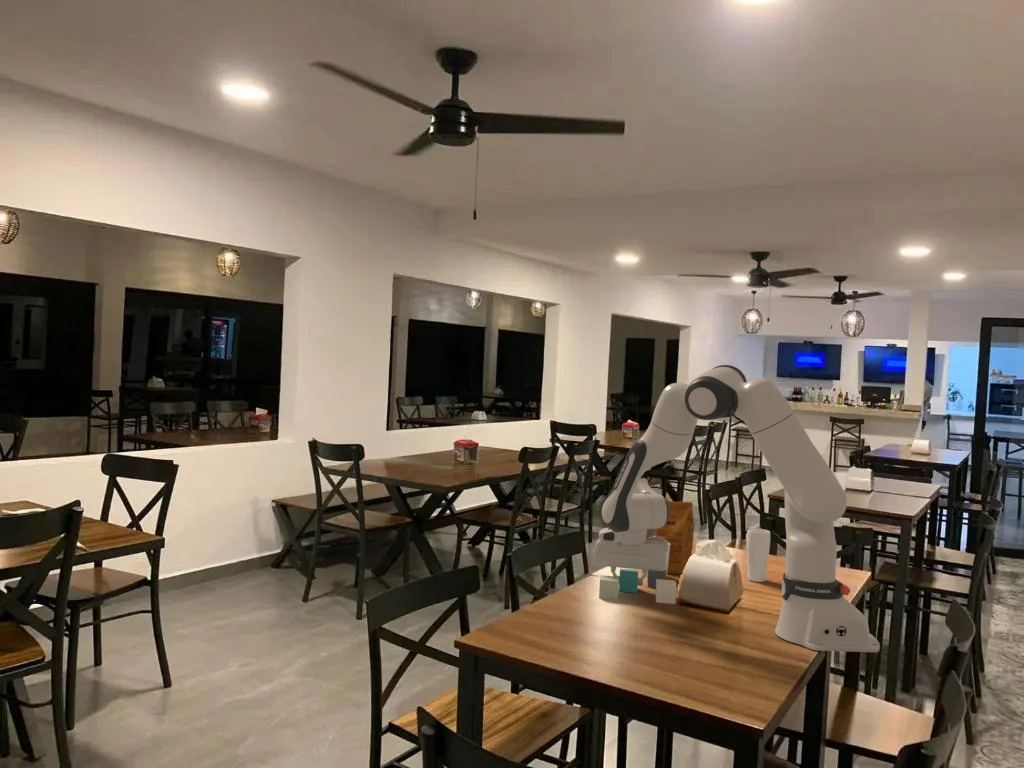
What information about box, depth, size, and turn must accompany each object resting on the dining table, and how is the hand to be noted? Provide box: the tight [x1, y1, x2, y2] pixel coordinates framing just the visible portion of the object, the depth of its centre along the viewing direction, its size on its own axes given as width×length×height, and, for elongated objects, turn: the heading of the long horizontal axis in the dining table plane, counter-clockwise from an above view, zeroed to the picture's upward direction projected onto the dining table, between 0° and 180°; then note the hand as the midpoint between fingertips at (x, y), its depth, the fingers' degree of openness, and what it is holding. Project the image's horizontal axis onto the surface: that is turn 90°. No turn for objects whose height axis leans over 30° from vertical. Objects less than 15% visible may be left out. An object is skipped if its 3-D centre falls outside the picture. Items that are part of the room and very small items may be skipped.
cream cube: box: [655, 579, 677, 605], centre depth 204 cm, size 5×5×5 cm
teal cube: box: [619, 568, 639, 594], centre depth 212 cm, size 5×5×5 cm
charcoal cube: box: [646, 569, 667, 588], centre depth 219 cm, size 5×5×5 cm
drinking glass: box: [746, 528, 771, 583], centre depth 229 cm, size 7×7×15 cm
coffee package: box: [653, 498, 695, 576], centre depth 237 cm, size 10×12×22 cm
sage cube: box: [598, 574, 620, 601], centre depth 205 cm, size 5×5×5 cm
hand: (628, 583), depth 212 cm, fingers closed on teal cube, 5 cm apart
